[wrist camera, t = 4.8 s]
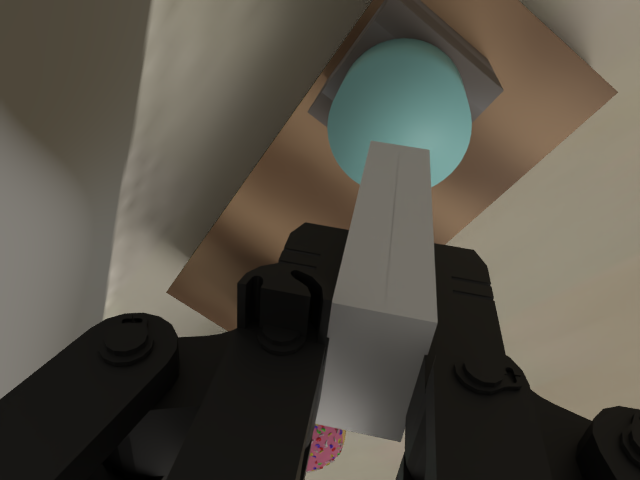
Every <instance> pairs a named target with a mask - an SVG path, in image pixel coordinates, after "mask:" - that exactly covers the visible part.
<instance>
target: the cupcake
mask: <svg viewBox="0 0 640 480" xmlns="http://www.w3.org/2000/svg"><path fill="white" fill-rule="evenodd" d="M345 434H346V430H342V429H338V428H333V427H328V426H324V425H319V424H315V427H314V431H313V436H312V443H311V450H310V456H309V461H308V466H307V470H306V472H310V471H317V470H320V469H323V466H325V465H326V464H327V465H329V464H330V463H329V462H334V461H335V460H334V458H336V457H337V456H338V455H339V454H340V453H341V450H342V447H343V444H344V440H345Z"/></svg>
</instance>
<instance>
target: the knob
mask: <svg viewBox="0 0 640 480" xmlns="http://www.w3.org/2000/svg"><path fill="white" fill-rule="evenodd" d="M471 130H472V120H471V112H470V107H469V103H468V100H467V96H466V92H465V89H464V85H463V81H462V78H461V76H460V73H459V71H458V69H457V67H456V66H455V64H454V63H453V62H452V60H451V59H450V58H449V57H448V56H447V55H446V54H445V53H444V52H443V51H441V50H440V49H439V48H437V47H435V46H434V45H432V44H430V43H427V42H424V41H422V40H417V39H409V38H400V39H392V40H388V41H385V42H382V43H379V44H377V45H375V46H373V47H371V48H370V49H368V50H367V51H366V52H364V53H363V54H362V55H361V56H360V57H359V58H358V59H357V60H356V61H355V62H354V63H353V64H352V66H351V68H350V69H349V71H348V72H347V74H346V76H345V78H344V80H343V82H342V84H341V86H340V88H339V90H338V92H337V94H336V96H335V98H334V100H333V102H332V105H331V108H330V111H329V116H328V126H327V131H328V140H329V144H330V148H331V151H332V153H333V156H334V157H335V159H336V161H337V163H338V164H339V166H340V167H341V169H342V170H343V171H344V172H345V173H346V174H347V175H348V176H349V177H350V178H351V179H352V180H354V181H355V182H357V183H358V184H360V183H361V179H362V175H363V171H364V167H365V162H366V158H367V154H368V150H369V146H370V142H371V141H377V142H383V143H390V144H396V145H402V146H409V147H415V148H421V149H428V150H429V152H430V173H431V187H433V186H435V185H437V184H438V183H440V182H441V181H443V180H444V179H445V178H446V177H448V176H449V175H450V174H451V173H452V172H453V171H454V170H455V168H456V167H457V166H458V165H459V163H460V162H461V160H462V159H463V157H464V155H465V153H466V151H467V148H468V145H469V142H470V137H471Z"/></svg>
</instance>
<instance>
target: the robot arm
mask: <svg viewBox="0 0 640 480" xmlns="http://www.w3.org/2000/svg"><path fill="white" fill-rule="evenodd" d="M490 284H491V282H490V277H489V272H488V268H487V265H486V264H485V263H484V262H483V261H482V259H481V258H480V257H479V256H478V254H477V253H476V252H475V251H474V250H471V249H465V248H459V247H454V246H448V245H442V244H436V243H434V235H433V215H432V194H431V173H430V152H429V150H428V149H421V148H415V147H409V146H402V145H396V144H390V143H383V142H377V141H371V142H370V146H369V150H368V154H367V158H366V162H365V167H364V171H363V175H362V179H361V183H360V187H359V191H358V196H357V200H356V204H355V208H354V212H353V216H352V221H351V225H350V229H349V230H347V229H341V228H335V227H330V226H324V225H318V224H313V223H307V222H305V223H303V224H302V225H301V226H299V227H298V228H297V229H295V230H294V231H292V232H291V233H290V235H289V237H288V239H287V242H286V244H285V246H284V250H283V251H282V253H281V255H280V257H279V260H278V263H275V264H269V265H264V266H259V267H257V268H255V269H253V270H251V271H249V272H247V273H246V274H245V275H244V276H243V277H242V278H241V279H240V280H239V282H238V283H237V328H236V329H234V330H232V331H228V332H225V333H222V334H217V335H210V336H197V337H178V336H177V334H176V332H175V330H174V328H173V326H172V324H170V323H169V322H167V321H166V320H164V319H163V318H161V317H159V316H155V315H151V314H146V313H127V314H122V315H118V316H115V317H111V318H108V319H105V320H104V321H102V322H100V323H99V324H97V325H95V326H94V327H92V328H90V329H89V330H88V331H86V332H85V333H84V334H83V335H81V336H80V337H79V338H77V339H76V340H75V341H74V342H72V343H71V344H70V345H69V346H67V347H66V348H65V349H64V350H62V351H61V352H60V353H58V354H57V355H56V356H55V357H54V358H52V359H51V360H50V361H48V362H47V363H46V364H44V365H43V366H42V367H41V368H39V369H38V370H37V371H36V372H34V373H33V374H32V375H31V376H29V377H28V378H27V379H25V380H24V381H23V382H22V383H21V384H19V385H18V386H17V387H15V388H14V389H13V390H12V391H10V392H9V393H8V394H6V395H5V396H4V397H3V398H1V399H0V480H305V475H306V470H307V466H308V461H309V456H310V450H311V443H312V436H313V431H314V427H315V424H319V425H324V426H328V427H333V428H338V429H342V430H347V431H352V432H356V433H361V434H366V435H370V436H375V437H380V438H384V439H389V440H394V441H398V442H401V439H402V436H403V433H404V430H405V452H404V455H403V458H402V461H401V464H400V468H399V471H398V474H397V477H396V480H640V410H639V409H633V408H628V407H622V406H616V407H611V408H606V409H603V410H602V411H601V412H600V413H599V414H598V415H597V416H596V417H595V418H594V419H593V421H591V420H588V419H586V418H584V417H582V416H579V415H577V414H575V413H573V412H571V411H568V410H566V409H564V408H562V407H560V406H557V405H555V404H553V403H551V402H549V401H548V400H546V399H544V398H542V397H540V396H539V395H537V394H536V393H535V392H533V391H532V390H531V389H530V385H529V383H528V381H527V379H526V377H525V375H524V373H523V371H522V370H521V369H520V368H519V367H518V365H517V364H516V363H515V362H514V361H513V360H512V359H511V358H510V357H508V356H506V354H505V350H504V345H503V340H502V335H501V330H500V325H499V321H498V316H497V311H496V306H495V301H493V298H494V296H493V292H492V287H491V286H490ZM405 426H406V428H405Z"/></svg>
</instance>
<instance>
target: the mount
mask: <svg viewBox="0 0 640 480" xmlns="http://www.w3.org/2000/svg"><path fill="white" fill-rule="evenodd" d="M400 38H409V39H417V40H422V41H424V42H427V43H430V44H432V45H434V46H435V47H437V48H439V49H440V50H441V51H443V52H444V53H445V54H446V55H447V56H448V57H449V58H450V59H451V60H452V62H453V63H454V64H455V66H456V67H457V69H458V71H459V73H460V76H461V78H462V81H463V85H464V89H465V92H466V96H467V100H468V103H469V107H470V112H471V120H472V130H471V137H470V142H469V145H468V148H467V151H466V153H465V155H464V157H463V159H462V160H461V162H460V163H459V165H458V166H457V167H456V168H455V170H454V171H453V172H452V173H451V174H450V175H449V176H448V177H446V178H445V179H444V180H443V181H441V182H440V183H438V184H437V185H435V186H433V187H431V194H432V215H433V235H434V243H436V244H442V245H445V244H446V243H447V242H448V241H449V240H451V239H452V238H453V237H454V236H455V235H456V234H457V233H459V232H460V231H461V230H462V229H463V228H464V227H465V226H467V225H468V224H469V223H470V222H471V221H472V220H473V219H474V218H476V217H477V216H478V215H479V214H480V213H481V212H482V211H484V210H485V209H486V208H487V207H488V206H489V205H490V204H492V203H493V202H494V201H495V200H496V199H497V198H498V197H500V196H501V195H502V194H503V193H504V192H505V191H506V190H508V189H509V188H510V187H511V186H512V185H513V184H514V183H515V182H517V181H518V180H519V179H520V178H521V177H522V176H523V175H525V174H526V173H527V172H528V171H529V170H530V169H531V168H533V167H534V166H535V165H536V164H537V163H538V162H539V161H541V160H542V159H543V158H544V157H545V156H546V155H547V154H548V153H550V152H551V151H552V150H553V149H554V148H555V147H556V146H558V145H559V144H560V143H561V142H562V141H563V140H564V139H566V138H567V137H568V136H569V135H570V134H571V133H572V132H574V131H575V130H576V129H577V128H578V127H579V126H580V125H582V124H583V123H584V122H585V121H586V120H587V119H588V118H589V117H591V116H592V115H593V114H594V113H595V112H596V111H597V110H599V109H600V108H601V107H602V106H603V105H604V104H605V103H607V102H608V101H609V100H610V99H611V98H612V97H613V96H615V95H616V94H617V93H618V92H617V91H616V90H615V89H614V88H613V87H612V86H611V85H610V84H609V83H608V82H606V81H605V80H604V79H603V78H602V77H601V76H600V75H599V74H598V73H597V72H596V71H595V70H593V69H592V68H591V67H590V66H589V65H588V64H587V63H586V62H585V61H584V60H583V59H582V58H580V57H579V56H578V55H577V54H576V53H575V52H574V51H573V50H572V49H571V48H570V47H568V46H567V45H566V44H565V43H564V42H563V41H562V40H561V39H560V38H559V37H558V36H557V35H555V34H554V33H553V32H552V31H551V30H550V29H549V28H548V27H547V26H546V25H545V24H544V23H542V22H541V21H540V20H539V19H538V18H537V17H536V16H535V15H534V14H533V13H532V12H530V11H529V10H528V9H527V8H526V7H525V6H524V5H523V4H522V3H521V2H520V1H519V0H372V2H371V3H370V5H369V6H368V7H367V9H366V10H365V12H364V13H363V15H362V16H361V17H360V19H359V20H358V22H357V23H356V24H355V26H354V27H353V29H352V30H351V32H350V33H349V34H348V36H347V37H346V39H345V40H344V41H343V43H342V44H341V46H340V47H339V48H338V50H337V51H336V53H335V54H334V56H333V57H332V58H331V60H330V61H329V63H328V64H327V65H326V67H325V68H324V70H323V71H322V73H321V74H320V75H319V77H318V78H317V80H316V81H315V82H314V84H313V85H312V87H311V88H310V89H309V91H308V92H307V94H306V95H305V97H304V98H303V99H302V101H301V102H300V104H299V105H298V106H297V108H296V109H295V111H294V112H293V114H292V115H291V116H290V118H289V119H288V121H287V122H286V123H285V125H284V126H283V128H282V129H281V130H280V132H279V133H278V135H277V136H276V138H275V139H274V140H273V142H272V143H271V145H270V146H269V147H268V149H267V150H266V152H265V153H264V155H263V156H262V157H261V159H260V160H259V162H258V163H257V164H256V166H255V167H254V169H253V170H252V171H251V173H250V174H249V176H248V177H247V179H246V180H245V181H244V183H243V184H242V186H241V187H240V188H239V190H238V191H237V193H236V194H235V196H234V197H233V198H232V200H231V201H230V203H229V204H228V205H227V207H226V208H225V210H224V211H223V212H222V214H221V215H220V217H219V218H218V220H217V221H216V222H215V224H214V225H213V227H212V228H211V229H210V231H209V232H208V234H207V235H206V237H205V238H204V239H203V241H202V242H201V244H200V245H199V246H198V248H197V249H196V251H195V252H194V253H193V255H192V256H191V258H190V259H189V261H188V262H187V263H186V265H185V266H184V268H183V269H182V271H181V272H180V273H179V275H178V276H177V278H176V279H175V281H174V282H173V283H172V285H171V286H170V288H169V289H168V291H167V292H166V293H168V294H170V295H171V296H173V297H174V298H176V299H178V300H179V301H181V302H182V303H184V304H186V305H187V306H189V307H190V308H192V309H193V310H195V311H197V312H198V313H200V314H201V315H203V316H205V317H206V318H208V319H209V320H211V321H213V322H214V323H216V324H217V325H219V326H221V327H222V328H224V329H225V330H227V331H232V330H234V329H236V328H237V283H238V282H239V280H240V279H241V278H242V277H243V276H244V275H245V274H246V273H247V272H249V271H251V270H253V269H255V268H257V267H259V266H264V265H269V264H275V263H278V260H279V257H280V255H281V253H282V251H283V250H284V246H285V244H286V242H287V239H288V237H289V235H290V233H291V232H292V231H294V230H295V229H297V228H298V227H299V226H301V225H302V224H303V223H305V222H307V223H313V224H318V225H324V226H330V227H335V228H341V229H347V230H349V229H350V225H351V221H352V216H353V212H354V208H355V204H356V200H357V196H358V191H359V187H360V184H358V183H357V182H355V181H354V180H352V179H351V178H350V177H349V176H348V175H347V174H346V173H345V172H344V171H343V170H342V169H341V167H340V166H339V164H338V163H337V161H336V159H335V157H334V156H333V153H332V151H331V148H330V144H329V140H328V131H327V126H328V116H329V111H330V108H331V105H332V102H333V100H334V98H335V96H336V94H337V92H338V90H339V88H340V86H341V84H342V82H343V80H344V78H345V76H346V74H347V72H348V71H349V69H350V68H351V66H352V64H353V63H354V62H355V61H356V60H357V59H358V58H359V57H360V56H361V55H362V54H363V53H364V52H366V51H367V50H368V49H370V48H371V47H373V46H375V45H377V44H379V43H382V42H385V41H388V40H392V39H400Z"/></svg>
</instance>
